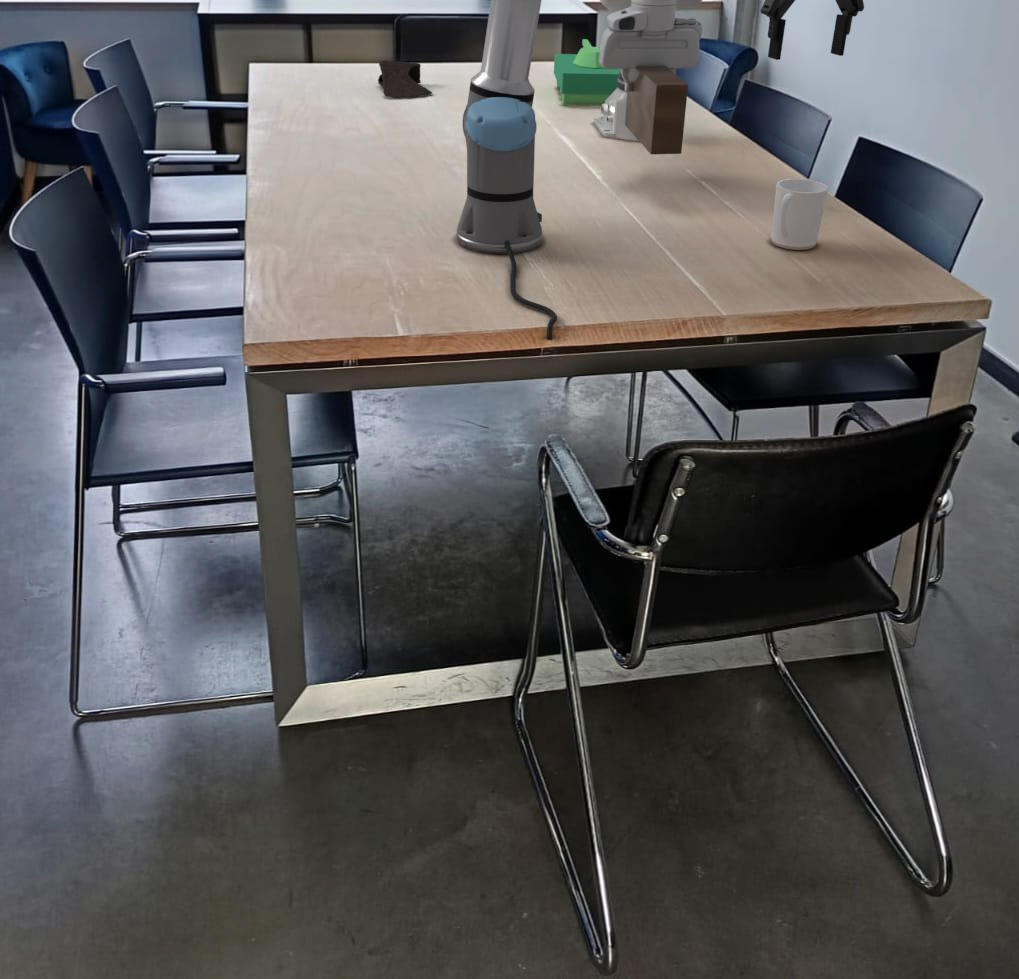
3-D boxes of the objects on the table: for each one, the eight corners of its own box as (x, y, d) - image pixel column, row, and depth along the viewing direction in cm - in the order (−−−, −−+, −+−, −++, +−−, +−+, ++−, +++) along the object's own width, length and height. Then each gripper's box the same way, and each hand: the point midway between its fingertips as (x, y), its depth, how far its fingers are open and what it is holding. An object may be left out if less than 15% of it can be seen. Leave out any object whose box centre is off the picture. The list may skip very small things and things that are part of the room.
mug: (782, 231, 203) (791, 175, 197) (827, 242, 198) (837, 185, 193) (753, 245, 196) (761, 188, 190) (799, 257, 191) (809, 198, 185)
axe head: (443, 87, 294) (392, 77, 287) (436, 115, 299) (385, 106, 292) (421, 62, 307) (371, 52, 300) (414, 89, 311) (365, 80, 304)
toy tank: (614, 36, 311) (632, 59, 281) (611, 81, 317) (628, 108, 287) (553, 34, 310) (563, 57, 280) (550, 80, 316) (561, 107, 286)
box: (681, 153, 213) (688, 84, 206) (650, 154, 212) (656, 84, 205) (652, 124, 232) (658, 59, 225) (624, 124, 231) (629, 60, 224)
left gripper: (871, -80, 192) (849, 49, 203) (751, -78, 183) (735, 56, 194) (899, -76, 186) (875, 56, 197) (777, -74, 177) (758, 64, 189)
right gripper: (698, 15, 220) (691, 87, 228) (599, 15, 218) (595, 88, 225) (707, 21, 215) (699, 94, 222) (606, 21, 213) (601, 95, 220)
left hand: (805, 56), depth 196 cm, fingers open, 13 cm apart
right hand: (646, 91), depth 224 cm, fingers closed on box, 6 cm apart
